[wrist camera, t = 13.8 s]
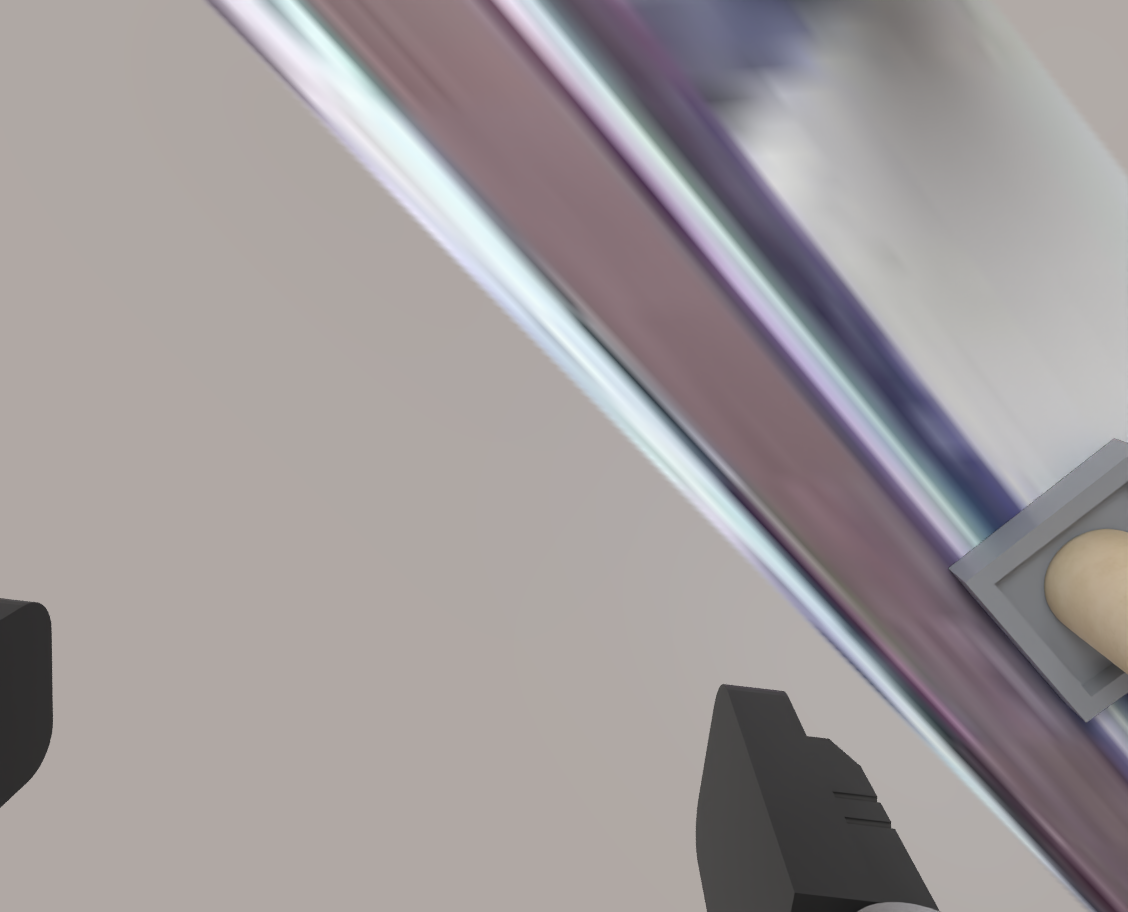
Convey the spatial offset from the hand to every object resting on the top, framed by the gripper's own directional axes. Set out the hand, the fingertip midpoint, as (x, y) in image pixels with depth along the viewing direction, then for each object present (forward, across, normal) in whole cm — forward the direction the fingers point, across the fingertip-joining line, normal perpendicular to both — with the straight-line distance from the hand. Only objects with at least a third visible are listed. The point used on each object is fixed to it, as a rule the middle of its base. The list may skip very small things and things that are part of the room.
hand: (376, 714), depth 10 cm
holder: (+33, -29, +7) cm, 45 cm away
